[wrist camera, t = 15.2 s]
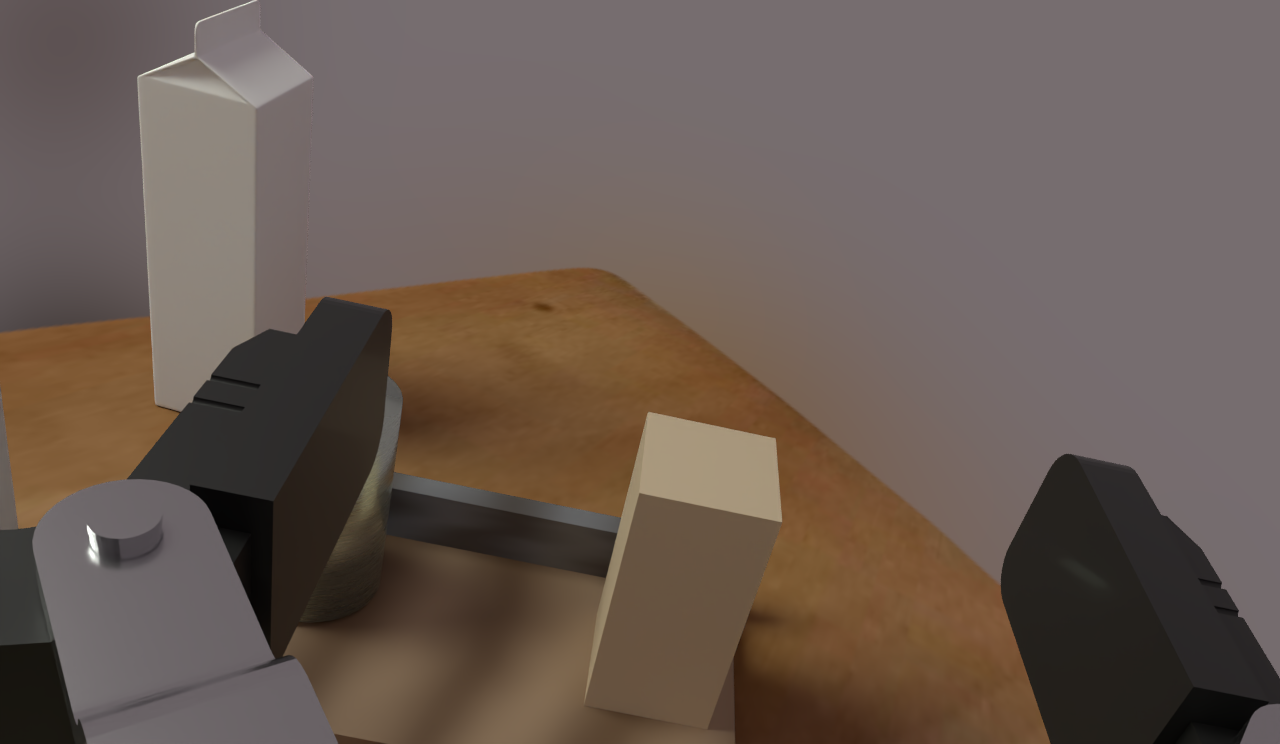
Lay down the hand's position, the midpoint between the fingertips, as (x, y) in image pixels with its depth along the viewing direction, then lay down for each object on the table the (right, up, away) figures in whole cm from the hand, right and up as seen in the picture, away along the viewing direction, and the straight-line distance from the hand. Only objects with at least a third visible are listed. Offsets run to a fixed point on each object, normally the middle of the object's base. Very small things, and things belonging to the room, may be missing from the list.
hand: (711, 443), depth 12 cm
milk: (-25, 0, +48) cm, 54 cm away
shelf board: (-9, -12, +35) cm, 38 cm away
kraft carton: (0, -13, +35) cm, 37 cm away
